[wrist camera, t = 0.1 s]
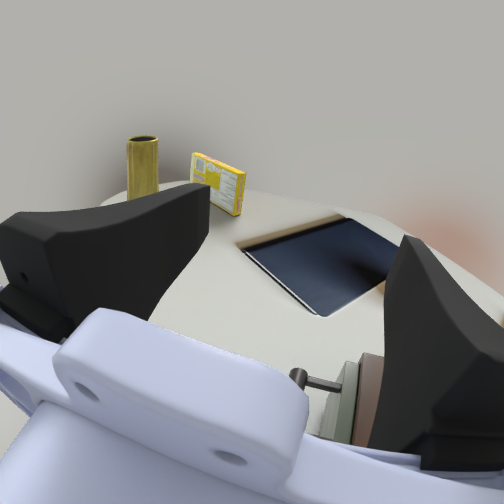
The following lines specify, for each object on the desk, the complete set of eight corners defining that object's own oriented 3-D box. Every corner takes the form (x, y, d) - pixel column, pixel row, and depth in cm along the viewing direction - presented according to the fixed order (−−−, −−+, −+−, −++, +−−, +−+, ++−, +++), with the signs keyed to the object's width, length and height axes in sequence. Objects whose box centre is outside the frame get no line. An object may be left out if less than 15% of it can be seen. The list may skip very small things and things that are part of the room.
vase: (120, 217, 54) (117, 139, 47) (145, 207, 59) (145, 133, 51) (142, 228, 52) (139, 144, 44) (167, 216, 56) (168, 138, 49)
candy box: (242, 214, 60) (247, 172, 56) (233, 217, 59) (237, 174, 55) (196, 187, 70) (198, 151, 66) (188, 188, 69) (190, 152, 65)
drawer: (252, 482, 19) (262, 456, 16) (284, 387, 28) (297, 347, 25) (422, 507, 16) (462, 484, 14) (424, 416, 25) (453, 381, 22)
